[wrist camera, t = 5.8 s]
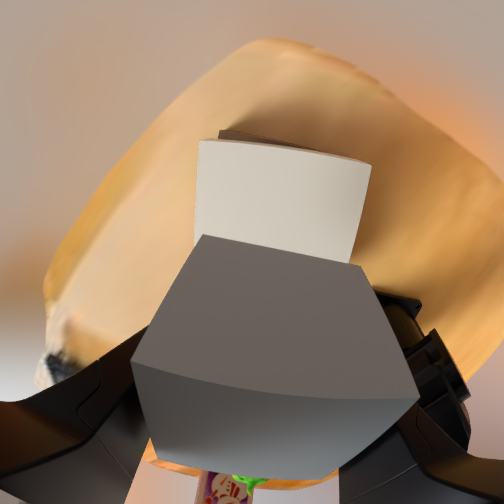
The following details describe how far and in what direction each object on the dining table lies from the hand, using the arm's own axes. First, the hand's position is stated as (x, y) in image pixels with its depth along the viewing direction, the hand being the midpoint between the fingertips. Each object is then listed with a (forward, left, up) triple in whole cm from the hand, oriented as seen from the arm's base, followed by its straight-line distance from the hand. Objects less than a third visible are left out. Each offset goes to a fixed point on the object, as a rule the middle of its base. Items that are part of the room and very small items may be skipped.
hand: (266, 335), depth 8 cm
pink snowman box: (-4, +53, -12) cm, 55 cm away
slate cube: (0, 0, -1) cm, 1 cm away
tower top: (0, 0, -10) cm, 10 cm away
